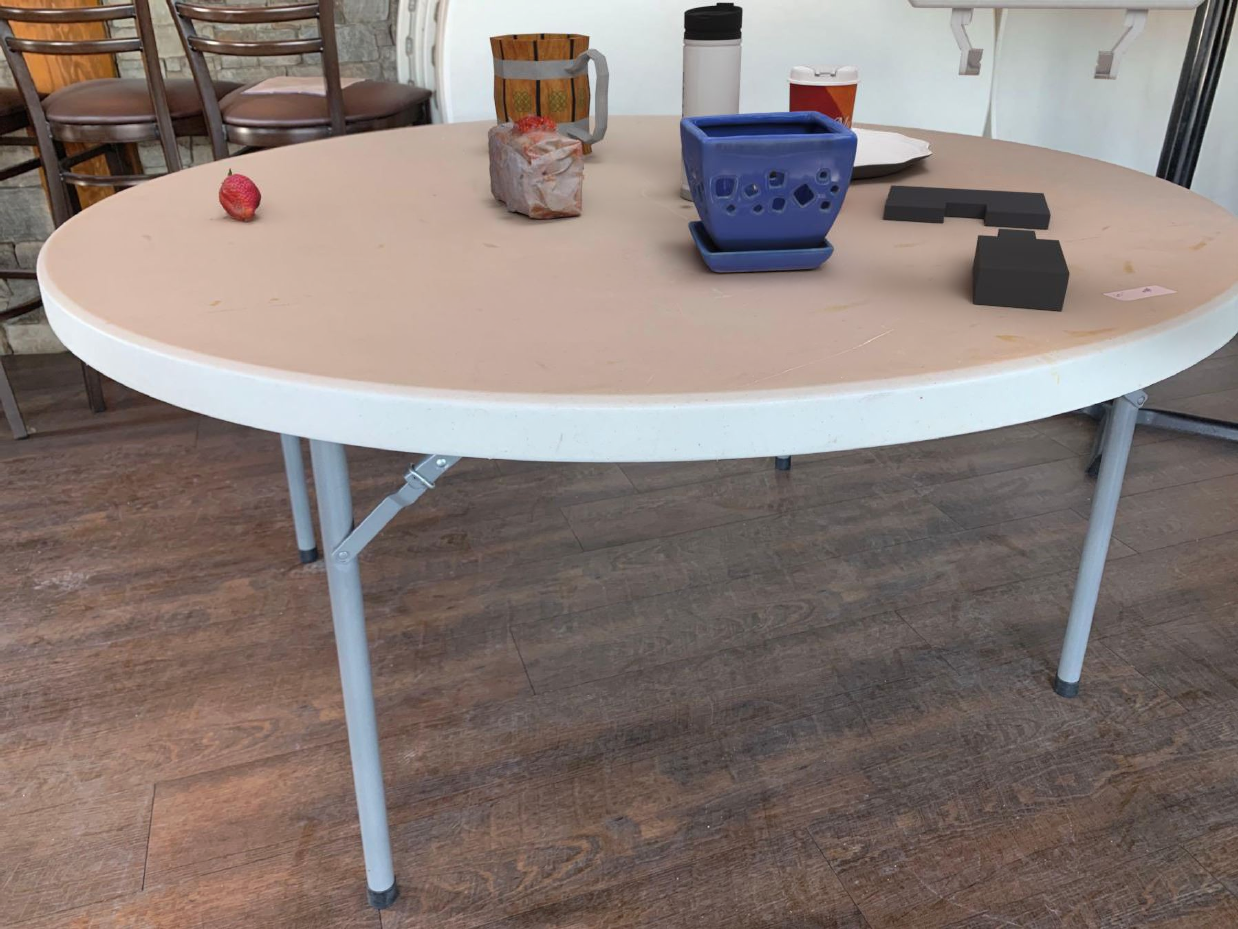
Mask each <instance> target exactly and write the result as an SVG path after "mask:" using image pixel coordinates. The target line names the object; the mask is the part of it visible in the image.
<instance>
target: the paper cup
mask: <svg viewBox="0 0 1238 929" xmlns="http://www.w3.org/2000/svg"><path fill="white" fill-rule="evenodd" d="M786 82H787V83H789V92H788V94H789V96H788V97H789V98H788V100H789V101H788V104H789V105H788V112H798V111H817V112H819V113H822V114H824V115H826V116H828V117H830V118H831V119H833V120H835V121H837V122H839V123H841V124H843V125H844V126H846V127H848V128H849V129H851V128H852V123H853V116H854V110H855V105H856V104H855V103H856V97H857V91H858V84H860V83H861V82H862V80H861V78H860V77H859V69H858V67H856V66H853V65H852V66H851V65H843V64H804V65H803V64H801V65H795V66H792V68H791V70H790V75H789V77H788V78H787V79H786Z"/></svg>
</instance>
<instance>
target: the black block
mask: <svg viewBox="0 0 1238 929" xmlns="http://www.w3.org/2000/svg"><path fill="white" fill-rule="evenodd" d="M1070 276H1071V274H1070V270H1069V267H1068V264H1067V261H1066V258H1065V255H1064V250H1063V249H1062V245H1061V243H1060V240H1059V239H1047V238H1037V235H1036V230H1030V229H1029V230H1028V229H1013V228H1012V229H1011V228H998V230H997V235H984V234H983V235H982V234H978V235H977V238H976V246H975V251H974V258H973V264H972V295H973V296H972V300H973V305H981V306H994V307H1006V308H1018V309H1029V310H1030V309H1031V310H1042V311H1053V312H1063V308H1064V303H1065V298H1066V294H1067V289H1068V284H1069V280H1070Z"/></svg>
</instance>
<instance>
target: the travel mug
mask: <svg viewBox="0 0 1238 929" xmlns="http://www.w3.org/2000/svg"><path fill="white" fill-rule="evenodd" d="M743 13H744V10H743V7H742V6H739V5H735V2H716V3H715V4H714V5H704V6H699V7H698V6H697V7H692V8H689V9H687V10H685V11H684V12H683V29H684V31H683V40H682V43H683V44H684V45H683V46H682V88H681V89H682V91H681V93H682V96H681V119H683V118H689V117H701V116H714V115H730V114H740V97H741V96H740V95H741V72H742V71H741V70H742V69H741V68H742V51H743V50H742V48H743V46H742V45H741V44H742V43H743V37H742V35H743V34H742V33H743V32H742V28H743ZM680 154H681V156H680V181H681V182H680V196H681V197H682V198H683V199H684V200H686V201H691V202H694V201H693V198H692V195H691V192H690V188H689V185H688V181H687V177H686V171H685V166H684V161H683V154H682V146H681V153H680Z"/></svg>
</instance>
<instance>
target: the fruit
mask: <svg viewBox="0 0 1238 929" xmlns="http://www.w3.org/2000/svg"><path fill="white" fill-rule="evenodd" d="M218 199H219V201H218V202H219V203H220V205H221V206H222V208H223V209H224V211H225V213H226V214H228V216H230V217H231V218H233V219H235V220H238V221H240V222H245V221H247V222H248V221H250V220H251V219H253V218H254V216H255V212H256V210H257V209H258V208H259V206H260V205H261V202H262V201H261V200H262V193H261V191H260V189H259V188H258V186H257V185H256V184H255V182H254V181H253V180H252V179H250V177H248V176H246V175H243V174H239V173H234V174H233V172H232V168H231V167H229V169H228V172H227V176H226V177H225V179H223V181H222V182H221V186H220V187H219V190H218Z"/></svg>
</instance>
